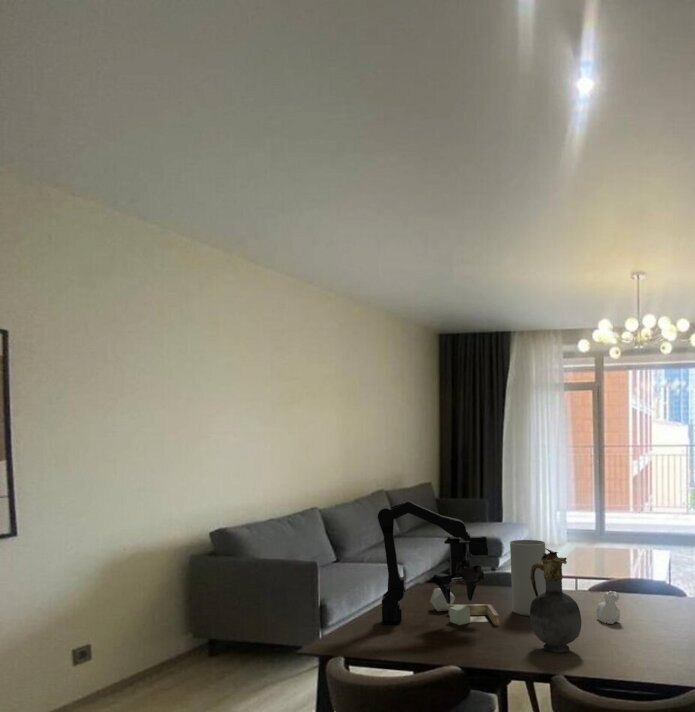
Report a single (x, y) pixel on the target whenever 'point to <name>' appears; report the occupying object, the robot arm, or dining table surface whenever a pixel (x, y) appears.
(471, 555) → the robot arm
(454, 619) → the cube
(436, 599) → the die
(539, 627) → the pitcher
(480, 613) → the wooden corner guide
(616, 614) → the white figurine
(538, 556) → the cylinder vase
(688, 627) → the dining table surface
